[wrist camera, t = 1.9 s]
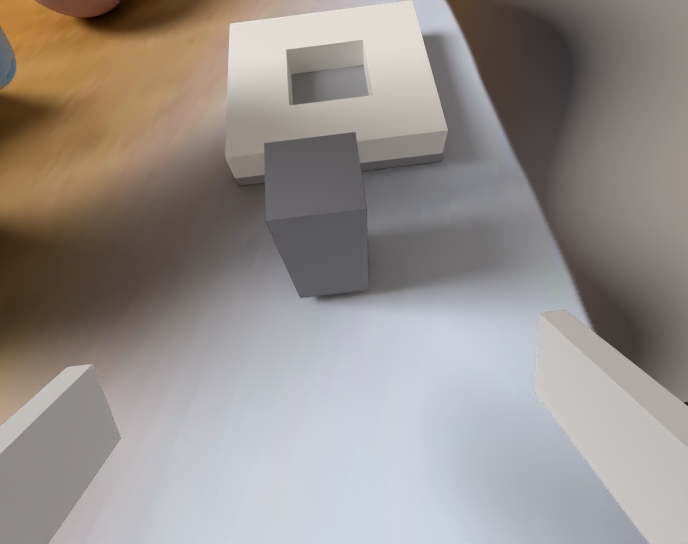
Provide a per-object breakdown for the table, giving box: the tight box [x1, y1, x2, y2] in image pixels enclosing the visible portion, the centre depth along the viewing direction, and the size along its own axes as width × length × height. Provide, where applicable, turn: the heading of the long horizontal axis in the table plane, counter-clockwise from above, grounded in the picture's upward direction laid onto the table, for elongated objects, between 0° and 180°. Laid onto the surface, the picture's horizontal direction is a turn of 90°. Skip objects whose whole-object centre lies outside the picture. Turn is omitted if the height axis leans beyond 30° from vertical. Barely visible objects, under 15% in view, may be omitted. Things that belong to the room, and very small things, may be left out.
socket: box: [225, 0, 448, 186], centre depth 35 cm, size 17×16×4 cm
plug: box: [264, 132, 369, 298], centre depth 25 cm, size 5×5×11 cm
